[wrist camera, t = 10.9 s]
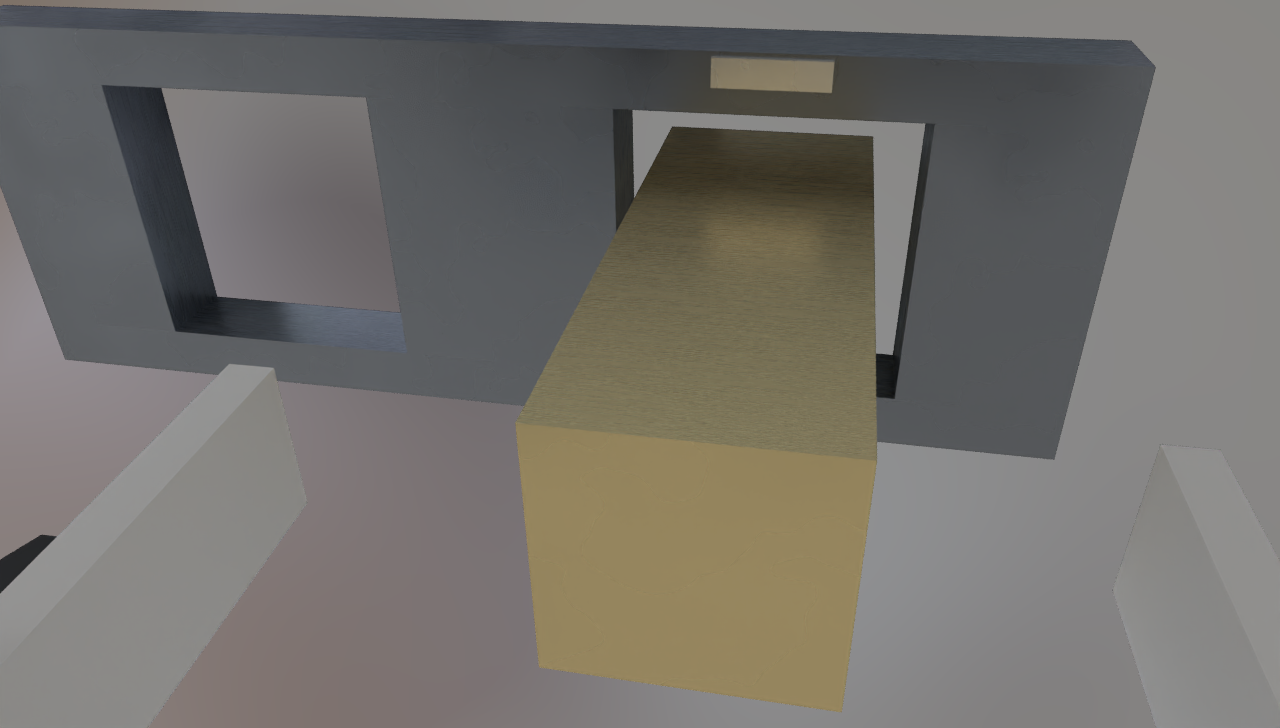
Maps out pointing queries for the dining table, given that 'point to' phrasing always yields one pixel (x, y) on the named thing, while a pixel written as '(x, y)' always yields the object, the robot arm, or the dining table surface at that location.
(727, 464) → the brass block
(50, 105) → the panel
